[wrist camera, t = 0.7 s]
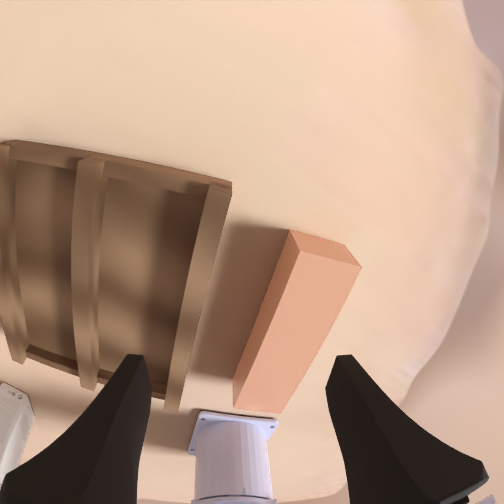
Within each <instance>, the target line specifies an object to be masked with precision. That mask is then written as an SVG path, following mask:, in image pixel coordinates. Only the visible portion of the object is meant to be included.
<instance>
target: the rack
mask: <svg viewBox="0 0 504 504" xmlns="http://www.w3.org/2000/svg"><path fill="white" fill-rule="evenodd" d="M231 197H232V182H229V181H225V180H221V179H217V178H213V177H209V176H205V175H201V174H197V173H193V172H188V171H184V170H180V169H175V168H171V167H166V166H162V165H157V164H152V163H148V162H143V161H138V160H133V159H128V158H123V157H118V156H113V155H107V154H102V153H96V152H91V151H85V150H79V149H73V148H67V147H61V146H55V145H48V144H41V143H34V142H27V141H19V140H13V141H9V142H5V143H1V144H0V316H1V320H2V324H3V328H4V332H5V336H6V340H7V344H8V347H9V351H10V354H11V357H12V360H13V361H16V362H18V363H20V364H22V365H23V363H24V361H25V360H26V358H27V357H28V358H30V359H33V360H35V361H38V362H40V363H43V364H45V365H48V366H50V367H53V368H56V369H58V370H61V371H64V372H67V373H70V374H73V375H75V376H78V377H79V378H80V384H81V387H83V388H86V389H89V390H92V391H94V389H95V387H96V384H97V383H101V384H104V385H106V384H107V382H108V381H109V379H110V378H111V377H112V375H113V374H114V372H115V371H116V370H117V368H118V367H119V365H120V364H121V362H122V361H123V359H124V358H125V356H126V355H127V354H136V355H144V359H145V363H146V367H147V371H148V375H149V378H150V382H151V386H152V397H154V398H158V399H163V400H165V403H164V409H165V410H170V411H175V412H178V410H179V405H180V400H181V396H182V391H183V387H184V382H185V378H186V374H187V369H188V365H189V361H190V356H191V352H192V348H193V343H194V339H195V335H196V331H197V327H198V323H199V319H200V314H201V310H202V306H203V302H204V298H205V294H206V290H207V286H208V283H209V279H210V275H211V271H212V267H213V263H214V259H215V255H216V252H217V248H218V244H219V240H220V237H221V233H222V229H223V226H224V222H225V218H226V215H227V211H228V207H229V204H230V200H231Z"/></svg>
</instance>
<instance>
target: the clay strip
mask: <svg viewBox="0 0 504 504" xmlns="http://www.w3.org/2000/svg"><path fill="white" fill-rule="evenodd" d="M361 268H362V267H361V265H360V264H359V263H358V261H357V260H356V259H355V258H354V256H353V255H352V254H351V252H350V251H349V250H348V249H347V247H346V246H345V245H343V244H339V243H336V242H332V241H329V240H325V239H322V238H318V237H315V236H311V235H308V234H304V233H300V232H297V231H293V230H289V233H288V236H287V238H286V241H285V244H284V246H283V249H282V252H281V255H280V257H279V260H278V263H277V265H276V268H275V271H274V273H273V276H272V279H271V281H270V284H269V287H268V289H267V292H266V295H265V297H264V300H263V302H262V305H261V308H260V310H259V313H258V315H257V318H256V321H255V323H254V326H253V328H252V331H251V334H250V336H249V339H248V341H247V344H246V346H245V349H244V351H243V354H242V356H241V359H240V361H239V364H238V366H237V369H236V371H235V374H234V376H233V379H232V384H233V408H235V409H243V410H251V411H260V412H270V413H282V411H283V410H284V408H285V406H286V405H287V403H288V402H289V400H290V399H291V397H292V395H293V394H294V392H295V390H296V389H297V387H298V386H299V384H300V382H301V381H302V379H303V377H304V376H305V374H306V372H307V370H308V369H309V367H310V365H311V364H312V362H313V360H314V358H315V357H316V355H317V353H318V351H319V350H320V348H321V346H322V344H323V342H324V341H325V339H326V337H327V335H328V333H329V331H330V330H331V328H332V326H333V324H334V322H335V320H336V318H337V316H338V314H339V313H340V311H341V309H342V307H343V305H344V303H345V301H346V299H347V297H348V295H349V293H350V291H351V289H352V287H353V285H354V283H355V281H356V278H357V276H358V274H359V272H360V270H361Z"/></svg>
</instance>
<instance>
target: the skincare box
mask: <svg viewBox="0 0 504 504" xmlns="http://www.w3.org/2000/svg"><path fill="white" fill-rule="evenodd" d="M34 421H35V417H34V414H33V411H32V407H31V404H30V401H29V398H28V395H26V394H25V393H23V392H22V391H20V390H18V389H16V388H14V387H12V386H10V385H8V384H6V383H4V382H3V383H2V384H1V386H0V485H1V486H2V483H3V480H4V477H5V475H6V473H8V472H10V471H12V470H14V469H15V468H17V467H18V466H19V463H20V460H21V457H22V454H23V451H24V448H25V445H26V442H27V439H28V437H29V434H30V431H31V428H32V426H33V423H34Z"/></svg>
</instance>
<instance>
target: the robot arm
mask: <svg viewBox="0 0 504 504" xmlns="http://www.w3.org/2000/svg"><path fill="white" fill-rule="evenodd" d="M325 390H326V396H327V402H328V408H329V412H330V416H331V419H332V423H333V426H334V429H335V432H336V436H337V439H338V442H339V446H340V449H341V452H342V456H343V460H344V464H345V469H346V476H347V482H348V489H349V498H350V504H467V503H469V498H468V495H469V494H470V493H472V492H473V491H475V490H476V489H478V488H479V487H481V486H482V485H483V484H485V483H486V482H487V481H488V479H489V476H488V474H487V472H486V470H485V468H484V465H483V463H482V461H480V460H477V459H475V458H472V457H470V456H468V455H465V454H463V453H461V452H459V451H457V450H455V449H454V448H452V447H450V446H448V445H447V444H445V443H443V442H442V441H440V440H439V439H437V438H436V437H434V436H433V435H431V434H430V433H428V432H427V431H426V430H424V429H423V428H422V427H420V426H419V425H418V424H417V423H415V422H414V421H413V420H412V419H411V418H409V417H408V416H407V415H406V414H405V413H404V412H403V411H402V410H401V409H400V408H399V407H398V406H397V405H396V404H395V403H394V402H393V401H392V400H391V399H390V398H389V397H388V396H387V395H386V394H385V393H384V392H383V391H382V389H381V388H380V387H379V386H378V385H377V384H376V383H375V382H374V380H373V379H372V378H371V377H370V376H369V375H368V373H367V372H366V371H365V370H364V369H363V368H362V366H361V365H360V364H359V363H358V362H357V360H356V359H355V358H354V357H353V356H352V355H339V356H336V359H335V362H334V365H333V368H332V371H331V374H330V377H329V379H328V382H327V385H326V388H325ZM151 397H152V386H151V382H150V378H149V375H148V371H147V367H146V363H145V359H144V355H136V354H127V355H126V356H125V358H124V359H123V361H122V362H121V364H120V365H119V367H118V368H117V370H116V371H115V372H114V374H113V375H112V377H111V378H110V379H109V381H108V382H107V384H106V385H105V386H104V387H103V389H102V390H101V391H100V393H99V394H98V395H97V397H96V398H95V399H94V400H93V402H92V403H91V404H90V405H89V406H88V408H87V409H86V410H85V411H84V412H83V414H82V415H81V416H80V417H79V418H78V419H77V420H76V421H75V422H74V423H73V424H72V425H71V426H70V427H69V428H68V429H67V430H66V431H65V432H64V433H63V434H62V435H61V436H60V437H59V438H57V439H56V440H55V441H54V442H53V443H52V444H50V445H49V446H48V447H47V448H45V449H44V450H43V451H41V452H40V453H39V454H37V455H36V456H34V457H33V458H32V459H30V460H29V461H27V462H26V463H24V464H22V465H21V466H19V467H17V468H15V469H14V470H12V471H10V472H8V473H6V475H5V477H4V480H3V483H2V487H1V490H0V504H137V503H136V502H137V480H138V467H139V461H140V455H141V450H142V446H143V441H144V436H145V432H146V427H147V423H148V418H149V414H150V406H151ZM278 424H279V423H278V420H275V419H264V418H254V417H244V416H236V415H228V414H221V413H214V412H207V411H201V412H200V413H199V415H198V419H197V422H196V425H195V428H194V431H193V435H192V438H191V441H190V444H189V448H188V454H190V455H196V468H195V497H194V500H191V504H278V503H277V499H273V494H272V485H271V477H270V469H269V460H268V452H267V443H266V442H267V441H268V439H269V438H270V436H271V435H272V434H273V432H274V431H275V429H276V428H277V426H278ZM476 504H497V503H496V501H495V498H494V496H493V495H490V496H488V497H486V498H485V499H483V500H481V501H480V502H478V503H476Z"/></svg>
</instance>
